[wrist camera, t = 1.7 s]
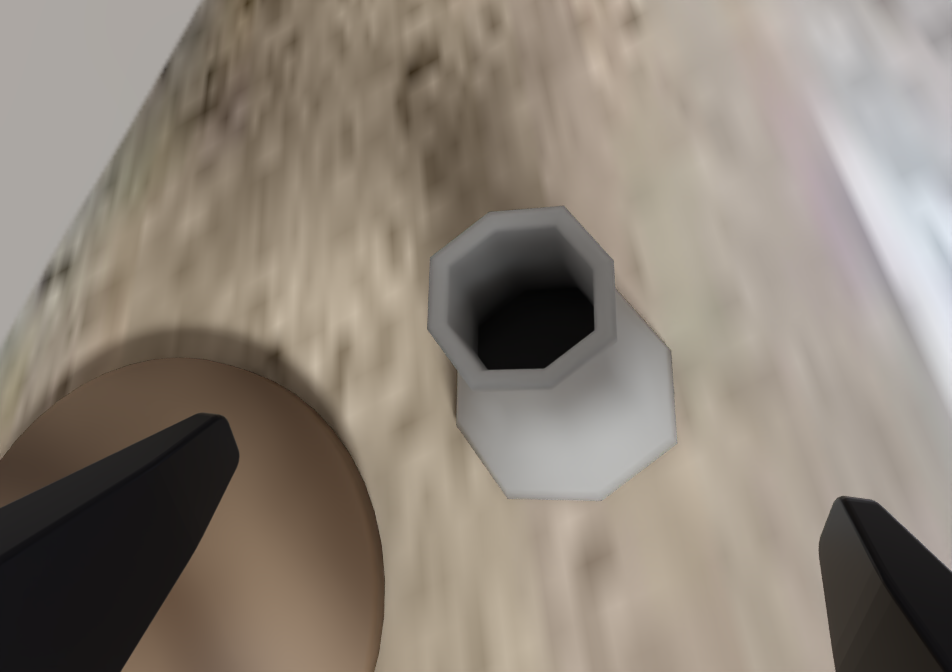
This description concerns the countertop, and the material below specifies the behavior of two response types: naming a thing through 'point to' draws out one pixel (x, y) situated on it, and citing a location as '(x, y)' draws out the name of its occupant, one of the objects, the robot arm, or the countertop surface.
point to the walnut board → (235, 521)
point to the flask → (549, 357)
